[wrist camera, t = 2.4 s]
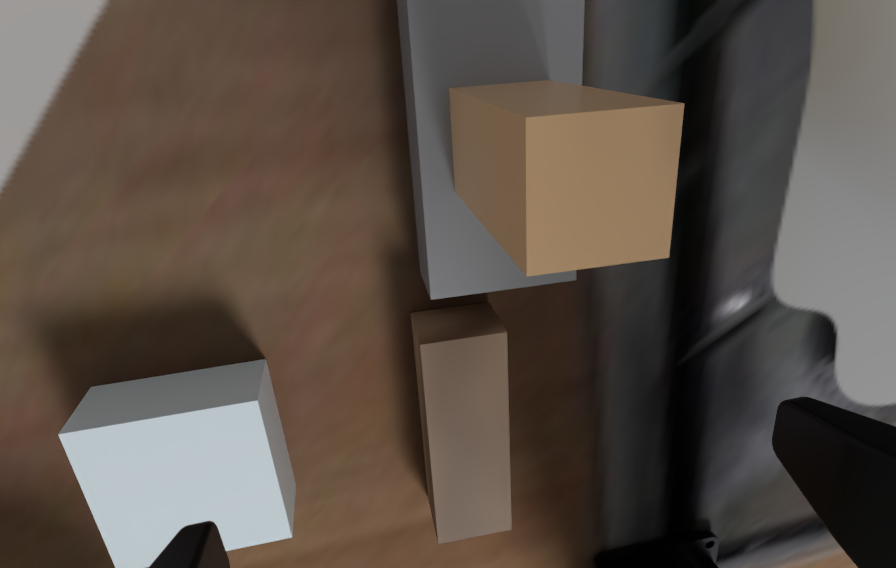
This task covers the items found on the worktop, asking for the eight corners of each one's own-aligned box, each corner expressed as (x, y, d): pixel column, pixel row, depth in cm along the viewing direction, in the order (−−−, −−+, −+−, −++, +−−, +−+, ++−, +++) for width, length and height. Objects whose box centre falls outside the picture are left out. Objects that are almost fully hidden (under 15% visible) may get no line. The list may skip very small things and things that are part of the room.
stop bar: (488, 302, 22) (507, 332, 20) (495, 486, 25) (511, 529, 23) (410, 312, 21) (420, 345, 19) (428, 498, 25) (438, 544, 23)
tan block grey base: (553, -47, 18) (763, -130, 9) (550, 255, 22) (695, 394, 13) (392, -40, 17) (458, -122, 8) (419, 272, 21) (483, 431, 12)
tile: (266, 354, 21) (257, 400, 19) (296, 480, 24) (292, 537, 21) (93, 382, 20) (58, 434, 18) (142, 510, 23) (117, 573, 20)
